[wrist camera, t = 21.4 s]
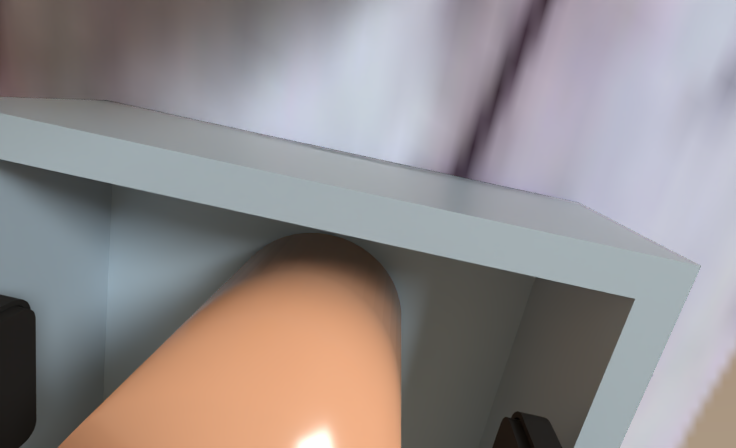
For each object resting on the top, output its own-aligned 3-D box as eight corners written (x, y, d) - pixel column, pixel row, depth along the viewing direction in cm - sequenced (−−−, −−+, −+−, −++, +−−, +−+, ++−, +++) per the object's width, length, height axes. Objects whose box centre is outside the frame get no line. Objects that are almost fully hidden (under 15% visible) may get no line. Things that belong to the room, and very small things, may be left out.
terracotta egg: (437, 310, 12) (483, 563, 5) (327, 417, 13) (251, 732, 7) (301, 196, 12) (161, 317, 5) (200, 318, 13) (-26, 552, 6)
